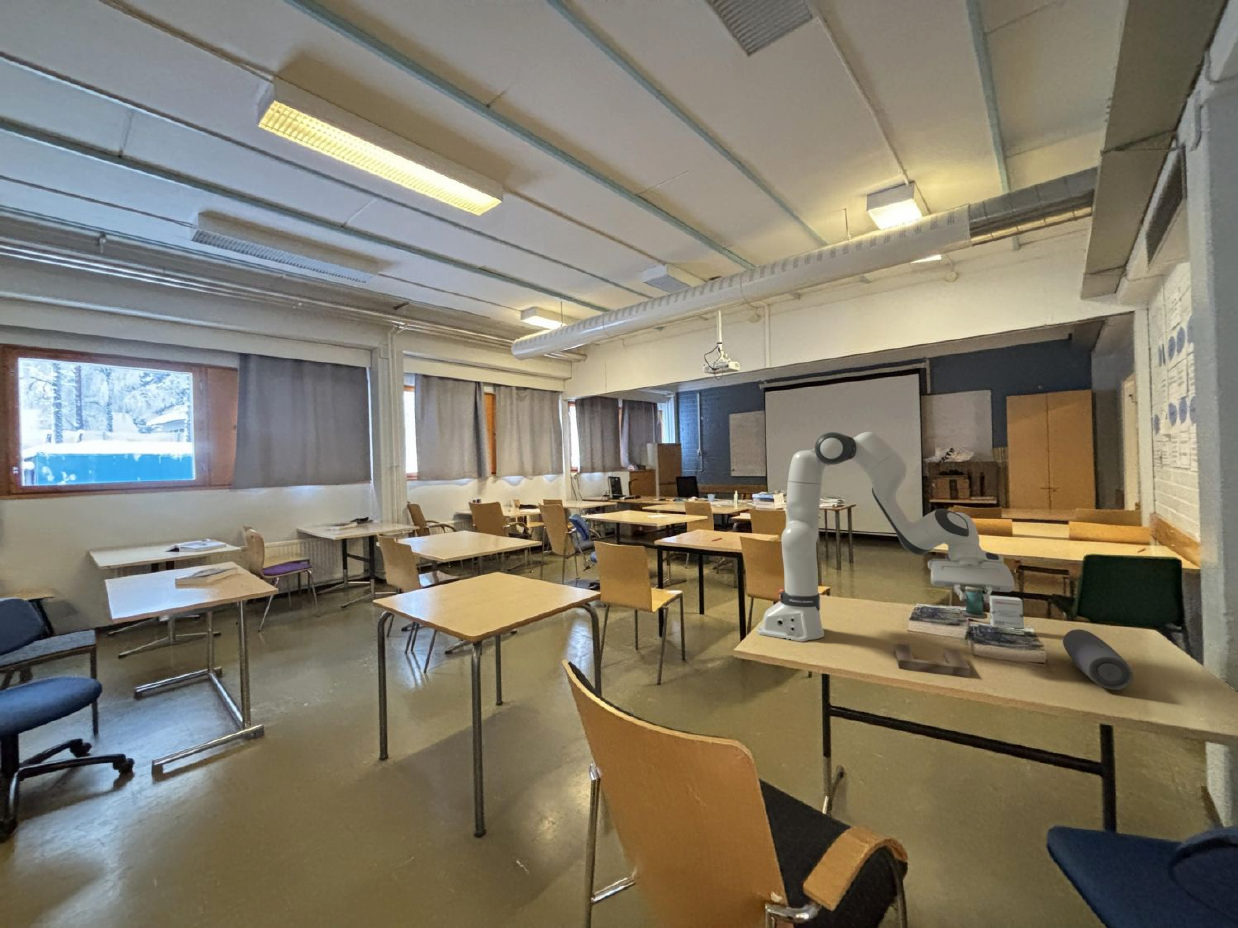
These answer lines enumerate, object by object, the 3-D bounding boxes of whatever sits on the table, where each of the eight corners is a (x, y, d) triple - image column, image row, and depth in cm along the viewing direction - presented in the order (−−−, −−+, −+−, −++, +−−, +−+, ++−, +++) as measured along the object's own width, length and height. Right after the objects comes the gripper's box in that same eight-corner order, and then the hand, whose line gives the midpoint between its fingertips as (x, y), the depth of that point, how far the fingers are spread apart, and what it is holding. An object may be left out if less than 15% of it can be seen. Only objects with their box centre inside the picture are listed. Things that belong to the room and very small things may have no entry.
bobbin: (963, 617, 141) (963, 589, 141) (960, 611, 147) (959, 584, 147) (989, 619, 139) (988, 591, 139) (984, 613, 144) (984, 586, 144)
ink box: (1021, 631, 169) (1020, 597, 169) (1024, 636, 165) (1023, 600, 165) (989, 628, 173) (988, 594, 173) (992, 632, 169) (991, 598, 169)
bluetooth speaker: (1137, 698, 121) (1136, 657, 121) (1086, 690, 126) (1085, 651, 126) (1103, 664, 141) (1102, 629, 141) (1060, 659, 146) (1059, 625, 146)
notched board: (899, 668, 142) (898, 659, 142) (894, 651, 155) (894, 643, 155) (970, 677, 135) (970, 668, 135) (959, 658, 148) (958, 650, 148)
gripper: (927, 552, 153) (933, 591, 144) (1009, 556, 144) (1021, 598, 135) (925, 563, 157) (931, 602, 148) (1005, 568, 148) (1016, 610, 140)
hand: (975, 600), depth 142 cm, fingers closed on bobbin, 4 cm apart
